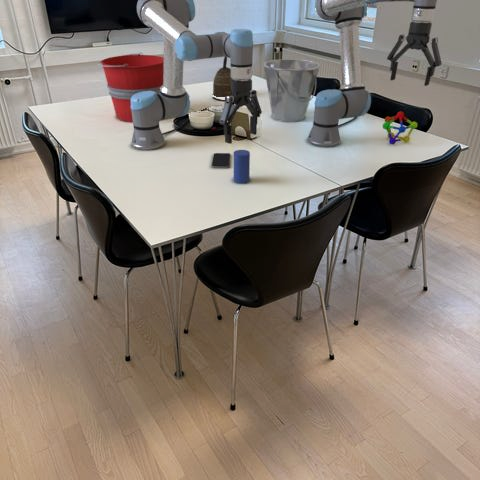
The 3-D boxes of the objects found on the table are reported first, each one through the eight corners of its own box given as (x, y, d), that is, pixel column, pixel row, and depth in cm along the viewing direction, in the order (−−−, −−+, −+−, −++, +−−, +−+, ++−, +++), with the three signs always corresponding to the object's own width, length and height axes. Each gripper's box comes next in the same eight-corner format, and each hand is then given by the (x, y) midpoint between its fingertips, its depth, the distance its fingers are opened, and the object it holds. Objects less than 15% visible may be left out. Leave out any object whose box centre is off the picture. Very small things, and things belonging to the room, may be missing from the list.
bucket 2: (289, 128, 228) (292, 72, 213) (250, 116, 247) (251, 63, 232) (326, 117, 245) (332, 64, 230) (287, 106, 263) (290, 56, 249)
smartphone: (211, 166, 183) (213, 153, 196) (211, 167, 184) (213, 154, 196) (229, 166, 183) (230, 153, 196) (229, 168, 184) (230, 154, 196)
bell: (227, 105, 294) (202, 96, 282) (238, 66, 289) (213, 55, 277) (243, 108, 280) (217, 98, 268) (255, 66, 275) (229, 55, 263)
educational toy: (377, 146, 209) (379, 114, 202) (384, 138, 219) (386, 107, 211) (411, 149, 202) (415, 116, 195) (417, 141, 212) (420, 109, 204)
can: (238, 184, 170) (238, 156, 164) (230, 179, 175) (230, 151, 168) (252, 181, 173) (252, 153, 166) (244, 176, 177) (244, 148, 171)
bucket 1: (116, 106, 262) (108, 51, 246) (175, 107, 261) (171, 52, 245) (98, 124, 233) (88, 63, 217) (164, 125, 232) (159, 64, 216)
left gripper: (223, 86, 143) (224, 149, 154) (272, 74, 159) (270, 132, 170) (207, 82, 148) (209, 144, 159) (256, 71, 163) (255, 128, 174)
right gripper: (384, 19, 165) (375, 79, 176) (452, 25, 151) (437, 89, 162) (393, 18, 169) (383, 76, 181) (460, 23, 155) (445, 85, 167)
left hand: (241, 138), depth 164 cm, fingers open, 13 cm apart
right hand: (409, 82), depth 171 cm, fingers open, 13 cm apart
